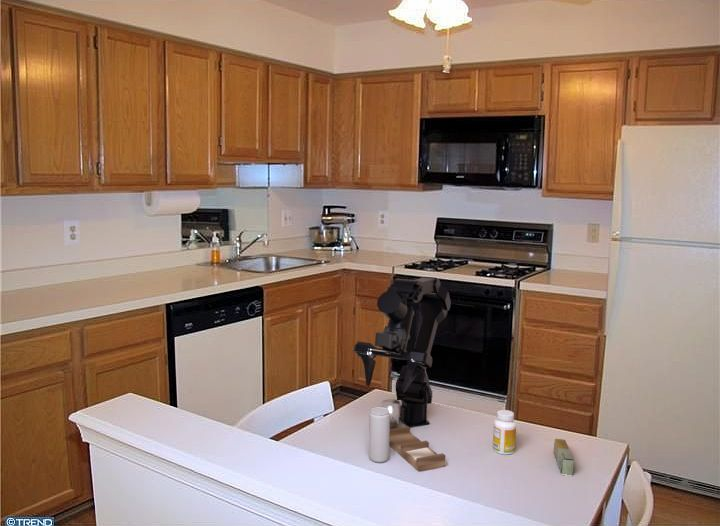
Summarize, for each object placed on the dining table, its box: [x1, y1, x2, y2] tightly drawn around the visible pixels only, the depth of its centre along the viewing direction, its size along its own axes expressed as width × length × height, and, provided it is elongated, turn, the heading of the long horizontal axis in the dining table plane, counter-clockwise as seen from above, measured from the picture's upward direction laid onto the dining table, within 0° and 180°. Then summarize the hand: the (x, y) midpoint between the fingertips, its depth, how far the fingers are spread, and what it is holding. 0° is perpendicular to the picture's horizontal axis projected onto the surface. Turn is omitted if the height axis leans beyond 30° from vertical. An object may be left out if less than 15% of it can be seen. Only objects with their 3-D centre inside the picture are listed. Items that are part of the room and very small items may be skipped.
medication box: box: [552, 438, 575, 476], centre depth 149 cm, size 12×3×4 cm, turn 172°
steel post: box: [381, 398, 401, 429], centre depth 164 cm, size 5×5×7 cm
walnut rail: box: [389, 423, 446, 473], centre depth 157 cm, size 26×7×3 cm, turn 24°
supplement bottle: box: [492, 409, 517, 456], centre depth 155 cm, size 5×5×10 cm
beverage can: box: [368, 406, 390, 464], centre depth 149 cm, size 5×5×12 cm
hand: (385, 389), depth 151 cm, fingers open, 9 cm apart
